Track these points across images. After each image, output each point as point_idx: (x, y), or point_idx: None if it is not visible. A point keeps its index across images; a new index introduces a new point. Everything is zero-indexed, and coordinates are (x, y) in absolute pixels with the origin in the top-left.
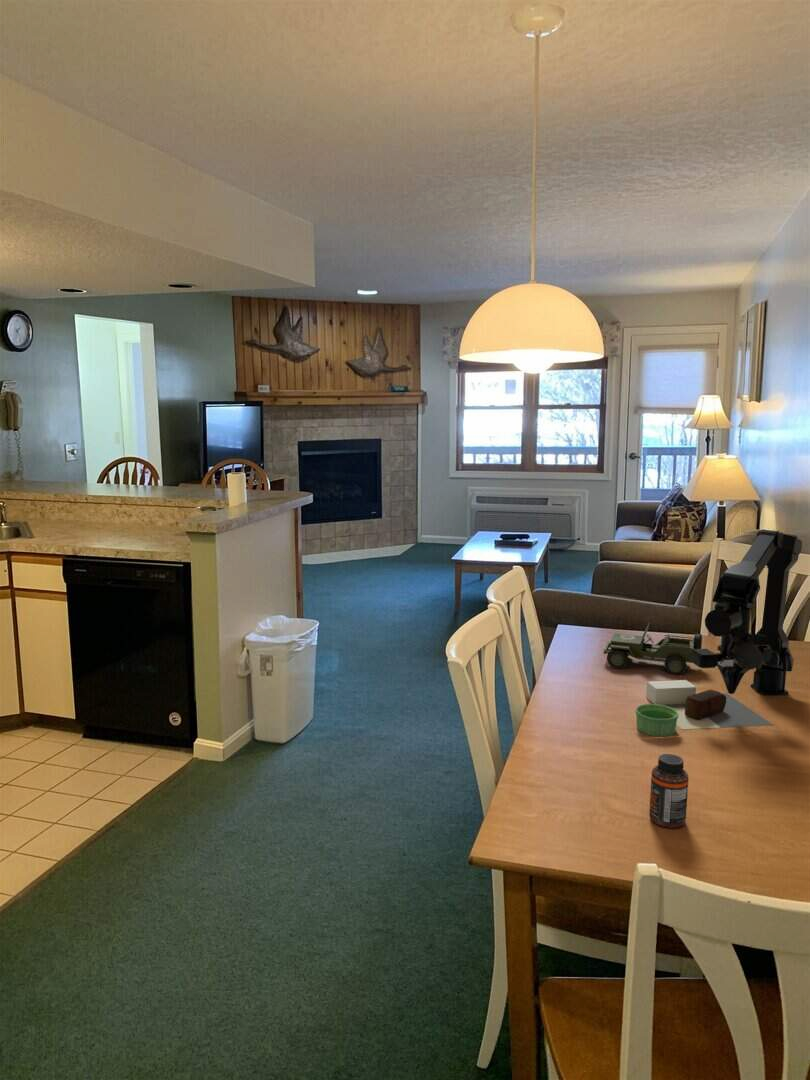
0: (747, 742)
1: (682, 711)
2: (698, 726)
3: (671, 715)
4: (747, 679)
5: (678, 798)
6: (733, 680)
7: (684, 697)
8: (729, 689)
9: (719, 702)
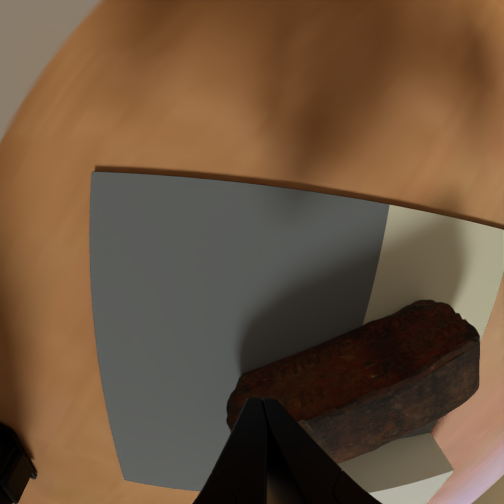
0: (365, 33)
1: None
2: (460, 241)
3: None
4: (36, 494)
5: None
6: (297, 481)
7: (345, 464)
8: (292, 424)
9: (293, 391)
